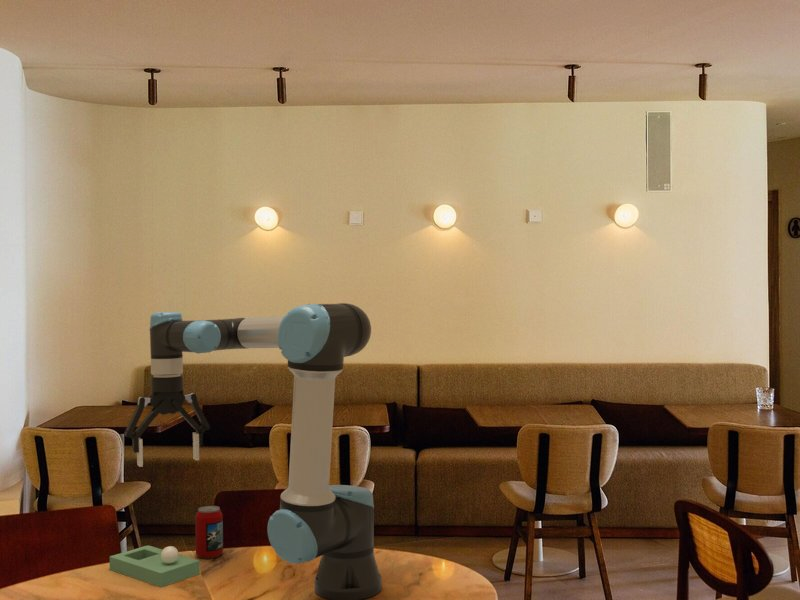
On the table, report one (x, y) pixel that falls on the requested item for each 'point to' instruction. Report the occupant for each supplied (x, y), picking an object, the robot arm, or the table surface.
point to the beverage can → (209, 532)
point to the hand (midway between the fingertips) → (168, 462)
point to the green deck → (153, 566)
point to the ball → (169, 555)
